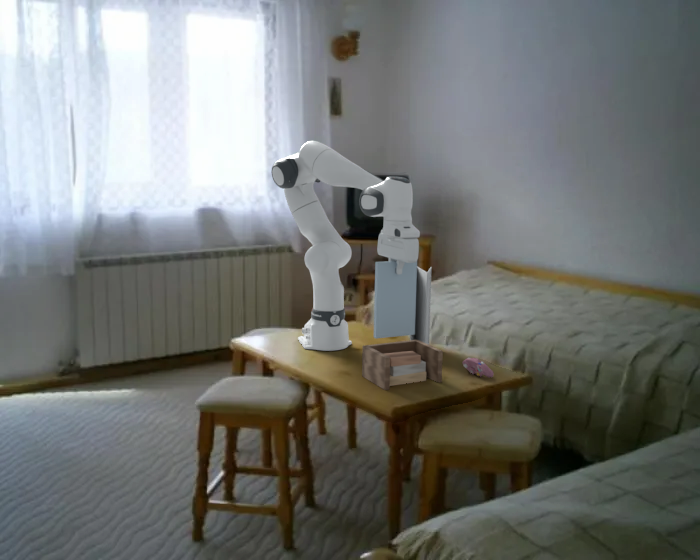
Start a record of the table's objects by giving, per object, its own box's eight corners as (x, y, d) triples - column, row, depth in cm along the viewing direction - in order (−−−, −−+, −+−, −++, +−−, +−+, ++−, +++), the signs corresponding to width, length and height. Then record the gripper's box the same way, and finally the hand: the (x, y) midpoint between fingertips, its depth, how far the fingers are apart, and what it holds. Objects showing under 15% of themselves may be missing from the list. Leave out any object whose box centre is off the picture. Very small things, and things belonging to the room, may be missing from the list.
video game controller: (464, 376, 239) (458, 359, 236) (473, 368, 241) (467, 351, 238) (486, 384, 231) (480, 366, 228) (495, 375, 233) (489, 358, 230)
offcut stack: (379, 380, 229) (379, 353, 228) (415, 375, 235) (415, 349, 233) (389, 386, 223) (390, 359, 221) (426, 381, 228) (427, 355, 227)
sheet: (373, 337, 230) (375, 261, 226) (412, 333, 236) (414, 259, 232) (375, 338, 228) (377, 262, 224) (414, 334, 234) (417, 260, 230)
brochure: (425, 357, 255) (427, 272, 250) (409, 356, 256) (411, 272, 251) (429, 347, 268) (431, 266, 263) (414, 346, 269) (416, 266, 264)
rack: (362, 376, 232) (362, 345, 231) (416, 369, 241) (417, 339, 239) (384, 390, 219) (385, 357, 217) (441, 382, 227) (442, 350, 226)
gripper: (373, 226, 234) (372, 268, 236) (404, 233, 216) (403, 279, 218) (390, 225, 237) (389, 267, 239) (423, 232, 219) (421, 277, 221)
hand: (396, 273), depth 229 cm, fingers closed on sheet, 2 cm apart
